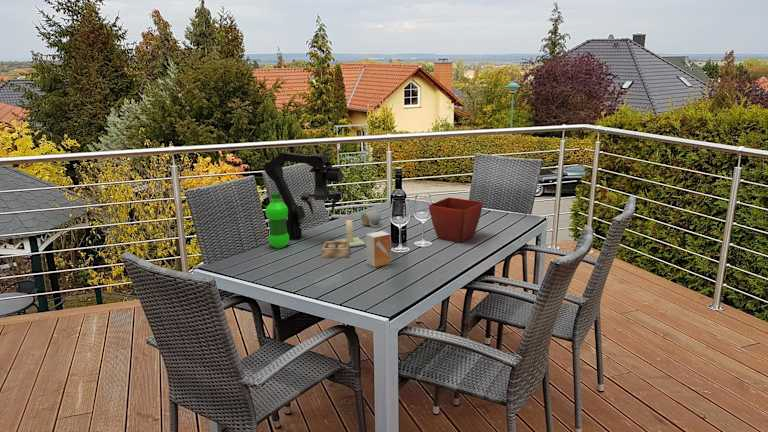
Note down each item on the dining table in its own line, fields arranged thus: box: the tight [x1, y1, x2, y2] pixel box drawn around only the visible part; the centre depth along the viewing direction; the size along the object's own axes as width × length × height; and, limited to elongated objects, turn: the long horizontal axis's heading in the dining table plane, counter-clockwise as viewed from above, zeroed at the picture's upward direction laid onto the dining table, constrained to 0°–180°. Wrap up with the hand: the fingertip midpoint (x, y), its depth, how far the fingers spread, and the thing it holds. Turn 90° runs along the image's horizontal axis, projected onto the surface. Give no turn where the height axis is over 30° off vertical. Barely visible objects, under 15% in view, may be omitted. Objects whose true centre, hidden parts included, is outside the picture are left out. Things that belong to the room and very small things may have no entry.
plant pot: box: [428, 197, 484, 244], centre depth 259 cm, size 19×19×17 cm
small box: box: [365, 230, 392, 268], centre depth 226 cm, size 8×6×13 cm
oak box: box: [321, 240, 351, 259], centre depth 242 cm, size 11×11×4 cm
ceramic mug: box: [361, 209, 382, 229], centre depth 285 cm, size 11×8×8 cm
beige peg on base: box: [333, 219, 367, 248], centre depth 254 cm, size 11×11×11 cm
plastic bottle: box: [264, 192, 290, 249], centre depth 251 cm, size 10×10×25 cm
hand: (322, 213), depth 259 cm, fingers open, 9 cm apart
